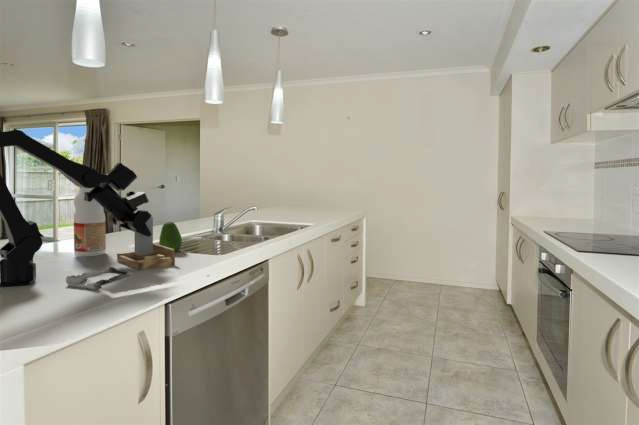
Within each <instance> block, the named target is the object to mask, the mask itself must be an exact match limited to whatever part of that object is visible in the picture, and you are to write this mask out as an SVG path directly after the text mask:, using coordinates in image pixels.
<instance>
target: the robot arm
mask: <svg viewBox="0 0 639 425" xmlns="http://www.w3.org/2000/svg"><path fill="white" fill-rule="evenodd" d="M6 147H14V148H17V149H18V150H20V151H22V152H24V153H26V154H27V155H29V156H30V157H33V158H35V159H37V160H39V161H40V162H42V163H44V164H46V165H47V166H49V167H51V168H52V169H55V170H56V171H57V172H59V173H60V174H62V176H64V178H66V179H67V180H68V181H69V182H71V183H72V184H73V185H75V186H76V187H78V188H81V187H82V188H93V189H92V190H91V191H90V192H84V195H85V196H84V201H88V202H90V201H92V200H93V199H94V200H95V201H97V202H98V203H99V204H100V205H101V206H102V207H103V210H104V212H105V213H107V214H110V215H108V221H109V222H110V223H111V224H112V225H115V226H117V225H118V223H119V227H120V228H123V229H125V230H128V231H131V232H134V233H135V232H138V233H141V234H143V235H146V236H148V237H150V236H151V235H152V234H151V232H150V230H149V229H148V227H147V225H146V222H147V221H148V220H149V219H150V218H151V217H153V216H152V214H151V213H150V212H149V211H148V210H143V209H142V210H141V209H139V210H138V207H139V206H142V205H144V204H147V203H149V202H150V200H149V199H148V196H147V193H146V192H145V191H136V192H135V191H133V190H129V191H127V192H126V194H125V197H123V196H122V195H120V194H119V193H118V192H117V191H125V190H126V189H127V188H128V187H129V186H131V184H132V183H134V181H136V180H137V179H138V175H137V174H136V173H135V172H134V170H132V169H130V167H128V166H126V165H124V164H123V163H121V162H117V163H116V164H115V165H114V167H113V168H112V169H111V170H109V171H108V172H107V173H102V172H101V173H99V171H98V170H97V169H95V168H92V167H90V166H88V165H86V164H82V163H79V162H77V161H73V160H71V159H69V158H67V157H65V156H64V155H62V154H60V153H58V152H57V151H55V150H53V149H51V148H50V147H48V146H46V145H44V144H43V143H42V142H40V141H37V139H34V138H33V137H31V136H30V135H27V133H25V132H24V131H23V130H20V129H12V130H8V131H0V148H6ZM99 184H101V185H99ZM0 217H1V219H2V220H3V223H4V228H5V233H6V237H7V241H8V242H6V243H5V244H4V245H3V246H2V247H0V257H1V258H2V259H1V260H0V287H11V286H13V287H14V286H27V285H30V284H31V283H32V282H34V281H35V280H36V279H37V265H36V262H34V256H35V254H36V253H37V252H38V251H39V250H41V248H42V246H43V239H42V238H44V234H42V232H40V229H39V226H38V222H35V221H32V220H28V221H27V220H26V218H24V215H23V214H22V212H21V210H20V208H19V206H18V204H17V203H16V201H15V199H14V197H13V195H12V193H11V192H10V189H9V187H8V186H7V184H6V182H5V180H4V178H3V176H2V175H1V173H0Z"/></svg>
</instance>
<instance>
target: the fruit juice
mask: <svg viewBox="0 0 639 425" xmlns="http://www.w3.org/2000/svg"><path fill="white" fill-rule="evenodd" d="M92 189H93V188H82V187H80V188H79V191H78V193H76V195H75V196H74V199H73V204H74V205H73V206H74V208H75V211H74V214H73V247H74V248H73V253H74V257H75V258H79V257H95V256H100V255H105V254H106V253H107V250H106V249H107V248H106V247H107V244H106V243H107V242H106V235H107V233H106V212H105V210H104V208H103V207H102V206H101V205H100V204H99V203H98V202H97V201H95V200H94V199H93V200H92V201H90V202H88V201H84V196H85V195H84V192H90V191H91V190H92Z"/></svg>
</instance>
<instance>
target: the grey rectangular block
mask: <svg viewBox="0 0 639 425" xmlns="http://www.w3.org/2000/svg"><path fill="white" fill-rule="evenodd" d="M146 225H147V227H148V229H149V230H150V232H151V234H152V235H151V236H150V237H148V236H146V235H143V234H141V233H138V232H134V252H135V254H136V255H138V256H140V255H148V254H153V243H154V242H153V240H154V217H153V216H151V218H150V219H149V220H148V221H147V222H146Z"/></svg>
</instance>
